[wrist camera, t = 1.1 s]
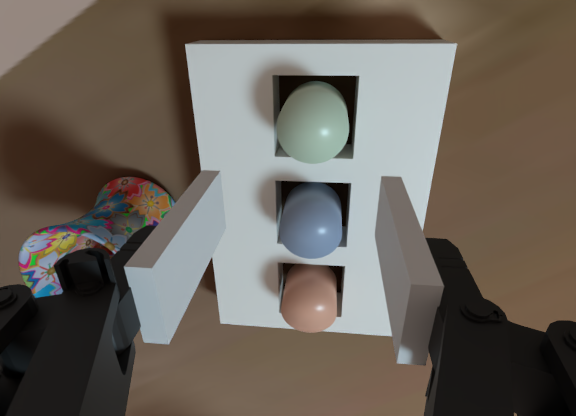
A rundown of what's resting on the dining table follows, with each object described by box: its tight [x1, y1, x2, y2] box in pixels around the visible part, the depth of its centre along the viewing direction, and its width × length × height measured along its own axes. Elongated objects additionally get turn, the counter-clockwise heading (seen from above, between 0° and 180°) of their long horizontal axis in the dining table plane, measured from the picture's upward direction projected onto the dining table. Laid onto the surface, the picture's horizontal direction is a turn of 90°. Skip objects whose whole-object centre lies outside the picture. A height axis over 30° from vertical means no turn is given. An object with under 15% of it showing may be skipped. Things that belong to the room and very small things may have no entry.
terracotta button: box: [281, 264, 337, 333], centre depth 34 cm, size 5×5×4 cm
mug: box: [19, 177, 175, 298], centre depth 33 cm, size 12×9×11 cm
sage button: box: [276, 81, 349, 164], centre depth 27 cm, size 5×5×4 cm
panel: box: [185, 39, 457, 336], centre depth 33 cm, size 18×26×4 cm
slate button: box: [279, 182, 342, 259], centre depth 30 cm, size 5×5×4 cm
